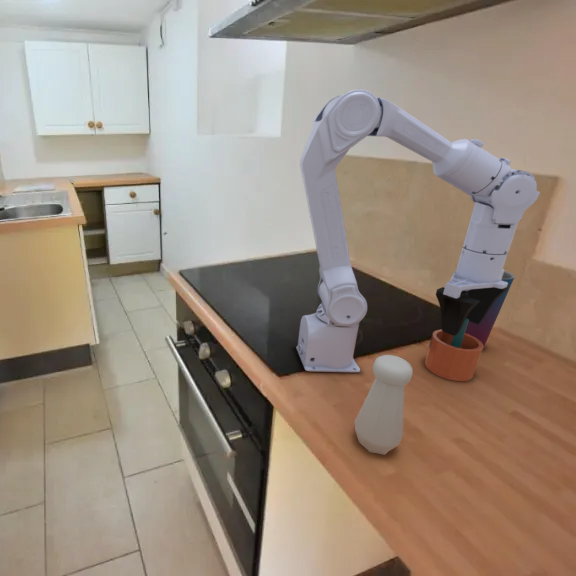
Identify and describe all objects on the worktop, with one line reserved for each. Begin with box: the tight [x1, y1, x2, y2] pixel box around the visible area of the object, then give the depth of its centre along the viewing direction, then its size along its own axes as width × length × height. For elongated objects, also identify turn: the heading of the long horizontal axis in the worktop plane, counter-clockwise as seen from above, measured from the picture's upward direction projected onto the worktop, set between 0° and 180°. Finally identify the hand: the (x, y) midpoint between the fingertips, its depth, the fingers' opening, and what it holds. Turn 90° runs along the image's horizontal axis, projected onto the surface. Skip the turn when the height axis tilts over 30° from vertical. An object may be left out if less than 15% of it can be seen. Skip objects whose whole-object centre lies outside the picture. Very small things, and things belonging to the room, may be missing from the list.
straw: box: [451, 318, 469, 348], centre depth 65 cm, size 1×1×10 cm
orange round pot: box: [424, 328, 484, 382], centre depth 66 cm, size 7×7×6 cm
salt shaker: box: [353, 354, 413, 456], centre depth 49 cm, size 6×6×13 cm
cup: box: [465, 270, 515, 349], centre depth 72 cm, size 7×7×15 cm
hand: (461, 327), depth 64 cm, fingers open, 7 cm apart
